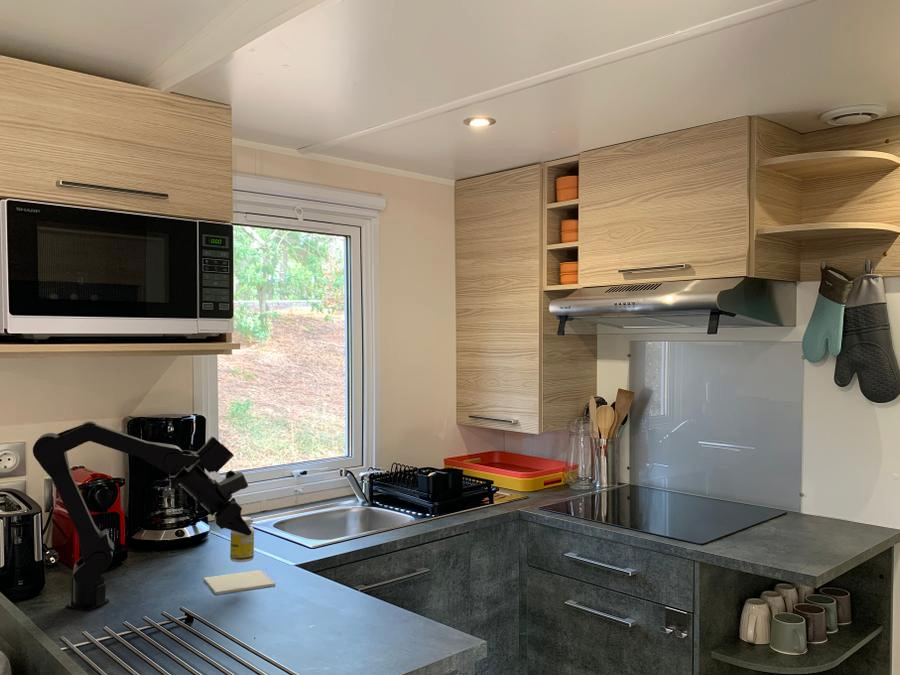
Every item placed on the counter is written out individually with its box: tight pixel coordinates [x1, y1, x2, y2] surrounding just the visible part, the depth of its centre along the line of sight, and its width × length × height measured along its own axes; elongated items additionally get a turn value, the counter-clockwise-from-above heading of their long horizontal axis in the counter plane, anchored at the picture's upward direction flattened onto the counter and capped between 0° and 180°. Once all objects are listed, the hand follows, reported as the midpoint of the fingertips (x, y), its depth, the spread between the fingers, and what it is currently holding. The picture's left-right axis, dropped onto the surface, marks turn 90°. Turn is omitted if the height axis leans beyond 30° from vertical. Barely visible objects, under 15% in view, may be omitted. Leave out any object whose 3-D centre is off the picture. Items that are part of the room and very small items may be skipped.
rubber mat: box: [203, 569, 276, 595], centre depth 184 cm, size 14×12×1 cm
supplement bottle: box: [229, 516, 255, 563], centre depth 181 cm, size 5×5×10 cm
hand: (248, 531), depth 182 cm, fingers closed on supplement bottle, 5 cm apart
